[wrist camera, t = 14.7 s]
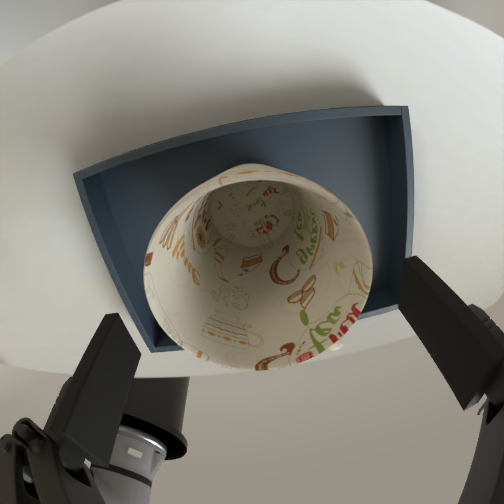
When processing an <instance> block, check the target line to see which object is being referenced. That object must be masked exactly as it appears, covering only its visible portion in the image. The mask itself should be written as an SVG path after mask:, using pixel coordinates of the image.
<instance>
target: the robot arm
mask: <svg viewBox="0 0 504 504" xmlns="http://www.w3.org/2000/svg"><path fill="white" fill-rule="evenodd" d="M398 309H399V310H400V311H401V313H402V314H403V316H404V317H405V318H406V320H407V321H408V323H409V324H410V325H411V327H412V328H413V330H414V331H415V333H416V334H417V336H418V337H419V339H420V340H421V342H422V343H423V345H424V346H425V347H426V349H427V350H428V352H429V354H430V355H431V357H432V358H433V360H434V362H435V363H436V365H437V366H438V368H439V370H440V371H441V373H442V374H443V376H444V378H445V379H446V381H447V383H448V384H449V386H450V388H451V389H452V391H453V393H454V394H455V396H456V398H457V400H458V402H459V403H460V405H461V407H462V409H463V410H466V409H468V408H469V407H471V406H473V405H475V404H476V403H478V402H479V400H480V399H481V398H482V396H483V395H484V393H485V394H486V396H487V399H486V401H485V402H484V404H483V405H482V406H481V408H480V409H479V411H478V414H477V415H480V413H481V412H482V411H483V410H484V413H483V419H482V424H481V429H480V434H479V438H478V442H477V447H476V451H475V454H474V458H473V461H472V465H471V469H470V472H469V475H468V478H467V481H466V483H465V486H464V489H463V492H462V494H461V497H460V500H459V502H458V504H504V333H503V332H502V330H501V329H500V328H499V327H498V326H496V324H495V323H494V322H493V320H492V319H490V317H489V316H488V315H487V314H486V313H485V312H484V311H483V310H482V309H481V308H479V307H477V306H475V305H474V304H471V305H468V306H467V305H466V304H465V303H464V302H463V301H462V299H461V298H460V297H459V296H458V295H457V294H456V293H455V292H454V291H453V290H452V289H451V288H450V287H449V286H448V285H447V284H446V283H445V282H444V281H443V280H442V279H441V278H440V277H439V276H438V275H437V274H436V273H434V272H433V271H432V270H431V269H430V268H429V267H428V266H427V265H426V264H425V263H424V262H423V261H422V260H421V259H420V258H418V257H417V256H412V257H408V258H404V259H403V261H402V273H401V284H400V293H399V301H398ZM140 357H141V352H140V351H139V349H138V347H137V346H136V344H135V342H134V341H133V339H132V337H131V335H130V334H129V332H128V330H127V328H126V327H125V325H124V323H123V321H122V319H121V317H120V315H119V314H118V313H112V314H105V316H104V318H103V320H102V321H101V323H100V325H99V327H98V329H97V330H96V332H95V334H94V336H93V338H92V339H91V341H90V343H89V345H88V347H87V349H86V351H85V353H84V355H83V357H82V359H81V361H80V362H79V364H78V366H77V368H76V371H75V373H74V375H73V377H70V378H69V379H68V380H67V381H66V382H65V384H64V385H63V387H62V389H61V391H60V394H59V396H58V397H57V399H56V404H54V406H53V408H52V411H51V413H50V415H49V418H48V420H47V422H46V425H45V427H44V429H43V430H41V429H40V428H39V427H38V426H37V425H36V424H35V423H34V422H33V421H32V420H31V419H29V418H23V419H20V420H19V421H18V422H17V423H16V424H15V425H14V427H13V430H12V435H11V434H6V435H4V436H3V437H1V439H0V504H149V502H150V494H151V486H152V480H153V477H154V476H155V474H156V472H157V471H158V469H159V467H160V466H161V464H162V462H163V461H164V459H165V457H166V452H167V446H166V444H165V443H164V442H163V441H162V440H161V439H159V438H158V437H157V436H155V435H153V434H151V433H149V432H147V431H145V430H143V429H141V428H138V427H136V426H133V425H130V424H127V423H123V422H121V418H122V415H123V411H124V408H125V404H126V401H127V398H128V394H129V391H130V388H131V385H132V381H133V378H134V375H135V372H136V369H137V366H138V363H139V360H140ZM85 458H86V459H87V460H88V461H90V462H91V466H90V469H89V468H88V467H87V466H86V464H85V463H84V461H85Z"/></svg>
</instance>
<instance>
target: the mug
mask: <svg viewBox="0 0 504 504" xmlns="http://www.w3.org/2000/svg"><path fill="white" fill-rule="evenodd" d="M372 273H373V263H372V255H371V250H370V246H369V243H368V240H367V237H366V235H365V232H364V230H363V228H362V226H361V225H360V223H359V221H358V220H357V218H356V217H355V215H354V214H353V213H352V212H351V210H350V209H349V208H348V207H347V206H346V205H345V204H344V203H343V202H342V201H341V200H340V199H338V198H337V197H336V196H335V195H334V194H332V193H331V192H330V191H328V190H327V189H325V188H324V187H322V186H320V185H318V184H317V183H315V182H313V181H311V180H309V179H306V178H304V177H301V176H299V175H296V174H293V173H289V172H286V171H283V170H280V169H277V168H274V167H270V166H267V165H263V164H256V163H248V164H242V165H238V166H235V167H232V168H230V169H228V170H226V171H224V172H223V173H221V174H219V175H217V176H215V177H213V178H212V179H210V180H208V181H206V182H204V183H203V184H201V185H199V186H198V187H196V188H194V189H193V190H191V191H190V192H189V193H187V194H186V195H185V196H184V197H182V198H181V199H180V200H179V201H178V202H177V203H176V204H175V205H174V206H173V207H172V208H171V209H170V210H169V211H168V212H167V214H166V215H165V216H164V217H163V219H162V220H161V221H160V223H159V225H158V226H157V228H156V230H155V231H154V233H153V235H152V238H151V240H150V242H149V245H148V248H147V252H146V256H145V261H144V269H143V280H144V289H145V294H146V298H147V301H148V304H149V307H150V309H151V311H152V313H153V315H154V317H155V319H156V320H157V322H158V323H159V325H160V326H161V327H162V329H163V330H164V331H165V332H166V333H167V335H168V336H169V337H170V338H171V339H172V340H174V341H175V342H176V343H177V344H178V345H179V346H181V347H182V348H183V349H185V350H186V351H188V352H189V353H191V354H193V355H195V356H196V357H198V358H200V359H203V360H205V361H207V362H210V363H212V364H215V365H219V366H222V367H226V368H231V369H238V370H251V371H259V370H271V369H279V368H283V367H287V366H291V365H294V364H297V363H300V362H303V361H305V360H308V359H310V358H312V357H314V356H316V355H318V354H319V353H321V352H323V351H324V350H326V349H327V348H328V349H330V350H333V351H337V350H339V349H340V348H341V347H342V346H343V342H344V334H345V333H346V332H347V331H348V330H349V329H350V328H351V326H352V325H353V324H354V322H355V321H356V320H357V318H358V317H359V315H360V313H361V312H362V310H363V308H364V306H365V303H366V301H367V298H368V295H369V292H370V288H371V283H372Z"/></svg>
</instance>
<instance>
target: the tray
mask: <svg viewBox="0 0 504 504" xmlns="http://www.w3.org/2000/svg"><path fill="white" fill-rule="evenodd" d="M248 163H256V164H263V165H267V166H270V167H274V168H277V169H280V170H283V171H286V172H289V173H293V174H296V175H299V176H301V177H304V178H306V179H309V180H311V181H313V182H315V183H317V184H318V185H320V186H322V187H324V188H325V189H327V190H328V191H330V192H331V193H332V194H334V195H335V196H336V197H337V198H338V199H340V200H341V201H342V202H343V203H344V204H345V205H346V206H347V207H348V208H349V209H350V210H351V212H352V213H353V214H354V215H355V217H356V218H357V220H358V221H359V223H360V225H361V226H362V228H363V230H364V232H365V235H366V237H367V240H368V243H369V246H370V250H371V255H372V263H373V273H372V283H371V288H370V292H369V295H368V298H367V301H366V303H365V306H364V308H363V310H362V312H361V313H360V315H359V317H358V318H357V320H359V319H363V318H367V317H371V316H375V315H378V314H382V313H386V312H389V311H393V310H396V309H398V301H399V293H400V284H401V273H402V261H403V259H404V258H408V257H411V254H412V241H413V223H414V167H413V149H412V136H411V126H410V117H409V109H408V106H361V107H344V108H331V109H320V110H311V111H302V112H294V113H287V114H280V115H273V116H267V117H261V118H256V119H250V120H245V121H240V122H235V123H230V124H225V125H221V126H217V127H212V128H208V129H204V130H200V131H196V132H192V133H188V134H185V135H181V136H177V137H174V138H170V139H167V140H164V141H160V142H157V143H154V144H151V145H147V146H144V147H141V148H138V149H135V150H132V151H129V152H127V153H124V154H121V155H118V156H116V157H113V158H110V159H108V160H105V161H102V162H100V163H97V164H95V165H92V166H90V167H87V168H85V169H83V170H80V171H78V172H76V173H74V174H73V176H74V179H75V182H76V185H77V189H78V192H79V195H80V198H81V201H82V204H83V207H84V210H85V213H86V215H87V218H88V221H89V224H90V226H91V229H92V232H93V234H94V237H95V239H96V242H97V244H98V247H99V249H100V252H101V254H102V257H103V259H104V261H105V264H106V266H107V268H108V270H109V273H110V275H111V277H112V279H113V281H114V283H115V286H116V288H117V290H118V292H119V294H120V296H121V298H122V300H123V302H124V304H125V306H126V308H127V310H128V312H129V314H130V316H131V318H132V320H133V321H134V323H135V325H136V327H137V329H138V331H139V332H140V334H141V336H142V338H143V340H144V341H145V343H146V345H147V347H148V348H149V350H150V352H151V353H154V352H167V351H178V350H185V349H183V348H182V347H181V346H179V345H178V344H177V343H176V342H175V341H174V340H172V339H171V338H170V337H169V336H168V335H167V333H166V332H165V331H164V330H163V329H162V327H161V326H160V325H159V323H158V322H157V320H156V319H155V317H154V315H153V313H152V311H151V309H150V307H149V304H148V301H147V298H146V294H145V289H144V280H143V269H144V261H145V256H146V252H147V248H148V245H149V242H150V240H151V238H152V235H153V233H154V231H155V230H156V228H157V226H158V225H159V223H160V221H161V220H162V219H163V217H164V216H165V215H166V214H167V212H168V211H169V210H170V209H171V208H172V207H173V206H174V205H175V204H176V203H177V202H178V201H179V200H180V199H181V198H182V197H184V196H185V195H186V194H187V193H189V192H190V191H191V190H193V189H194V188H196V187H198V186H199V185H201V184H203V183H204V182H206V181H208V180H210V179H212V178H213V177H215V176H217V175H219V174H221V173H223V172H224V171H226V170H228V169H230V168H232V167H235V166H238V165H242V164H248Z"/></svg>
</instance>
